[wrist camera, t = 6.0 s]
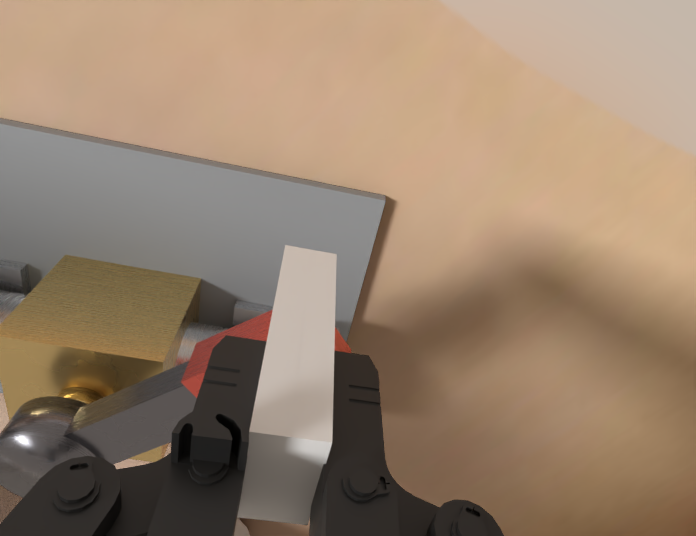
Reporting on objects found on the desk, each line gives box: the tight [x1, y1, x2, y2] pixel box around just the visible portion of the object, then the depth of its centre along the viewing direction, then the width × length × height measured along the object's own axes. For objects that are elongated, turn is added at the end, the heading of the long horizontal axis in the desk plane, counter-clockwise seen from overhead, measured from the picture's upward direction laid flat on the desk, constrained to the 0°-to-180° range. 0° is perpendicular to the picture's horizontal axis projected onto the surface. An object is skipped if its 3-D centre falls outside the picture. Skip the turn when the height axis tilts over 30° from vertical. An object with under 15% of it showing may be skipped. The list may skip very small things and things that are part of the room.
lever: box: [0, 310, 351, 498], centre depth 19 cm, size 15×4×2 cm, turn 118°
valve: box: [0, 255, 340, 462], centre depth 25 cm, size 22×7×8 cm, turn 78°
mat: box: [0, 118, 386, 393], centre depth 28 cm, size 24×18×1 cm
